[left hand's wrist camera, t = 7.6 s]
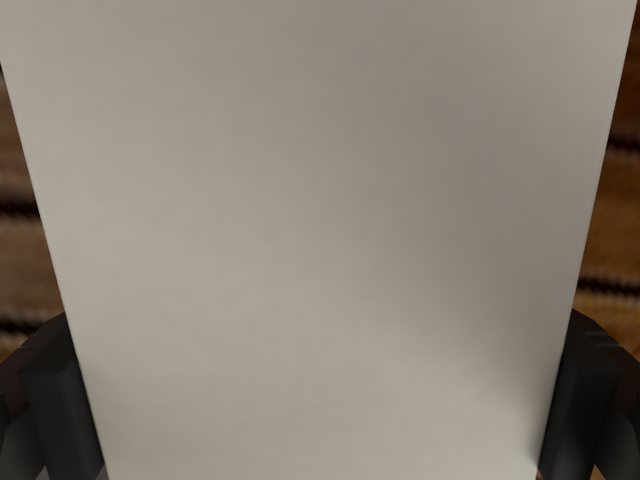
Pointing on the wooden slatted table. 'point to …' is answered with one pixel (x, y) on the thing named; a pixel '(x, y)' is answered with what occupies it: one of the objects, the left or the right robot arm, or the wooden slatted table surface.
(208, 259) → the thick board
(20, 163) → the wooden slatted table surface
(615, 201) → the wooden slatted table surface
